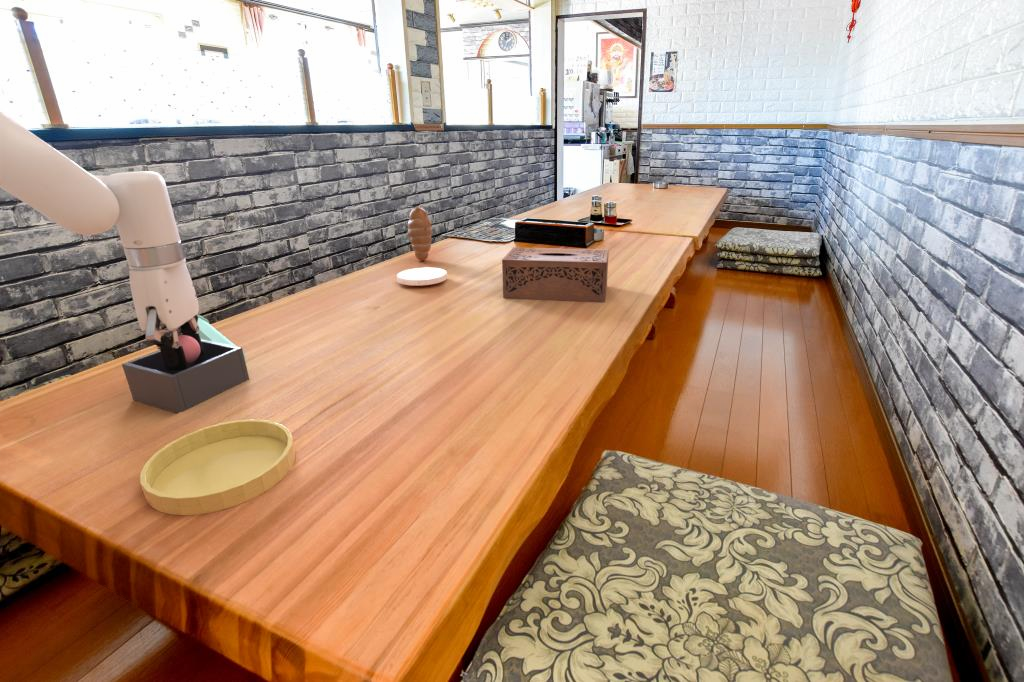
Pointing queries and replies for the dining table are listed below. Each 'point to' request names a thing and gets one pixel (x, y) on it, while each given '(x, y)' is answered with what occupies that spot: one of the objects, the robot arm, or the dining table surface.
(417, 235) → the croissant
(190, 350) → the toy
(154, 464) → the tray
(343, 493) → the dining table surface
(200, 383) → the bin
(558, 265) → the tissue box cover
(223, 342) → the container
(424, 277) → the plastic lid
